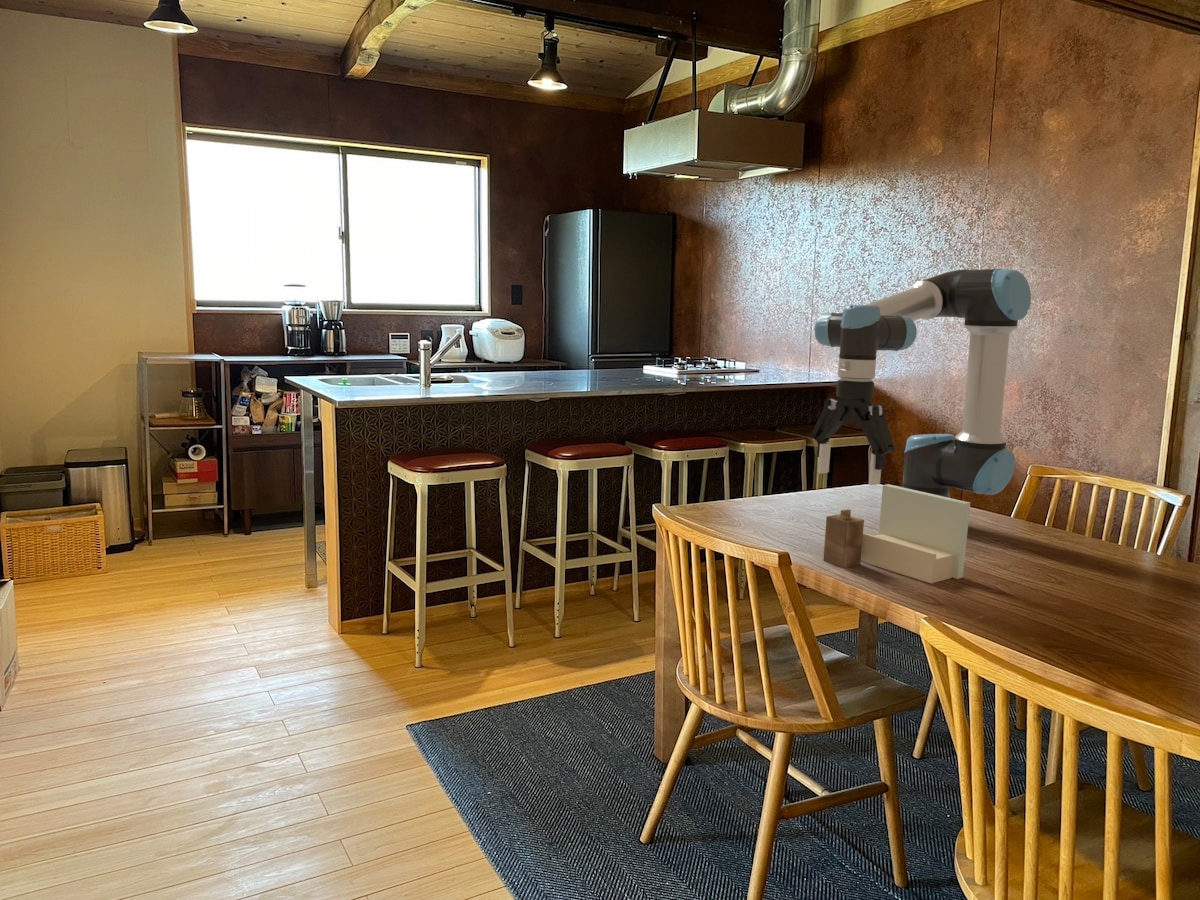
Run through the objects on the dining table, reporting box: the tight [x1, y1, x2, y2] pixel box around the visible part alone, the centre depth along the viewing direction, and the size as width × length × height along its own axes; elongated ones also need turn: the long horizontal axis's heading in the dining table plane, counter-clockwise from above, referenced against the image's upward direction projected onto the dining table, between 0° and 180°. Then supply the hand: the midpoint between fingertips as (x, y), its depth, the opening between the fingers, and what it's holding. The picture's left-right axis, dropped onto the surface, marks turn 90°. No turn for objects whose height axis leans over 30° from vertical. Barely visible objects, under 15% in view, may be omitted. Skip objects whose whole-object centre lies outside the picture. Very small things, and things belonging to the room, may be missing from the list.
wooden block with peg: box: [822, 508, 865, 569], centre depth 187 cm, size 5×6×12 cm
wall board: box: [861, 483, 971, 585], centre depth 183 cm, size 10×20×16 cm, turn 35°
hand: (847, 478), depth 184 cm, fingers open, 13 cm apart
